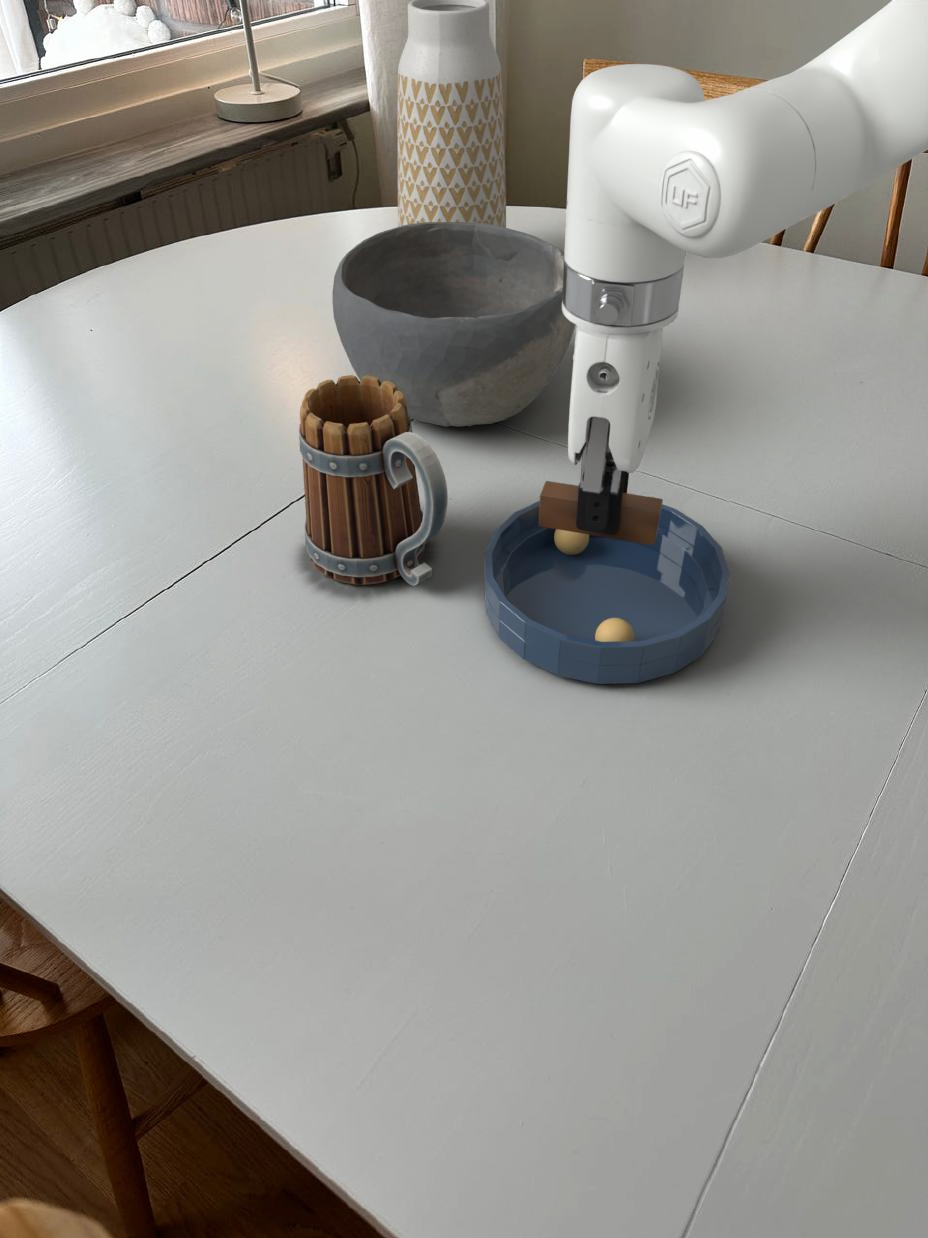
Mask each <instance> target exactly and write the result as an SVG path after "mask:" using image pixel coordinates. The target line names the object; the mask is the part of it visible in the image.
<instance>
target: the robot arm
mask: <svg viewBox="0 0 928 1238" xmlns="http://www.w3.org/2000/svg"><path fill="white" fill-rule="evenodd" d="M704 94H705V93H704V90H703V88H702V86H701V84H700V82H699V81H698V80H697V79H696V78H695V77H694V76H693V75H692V74H690V73H688V72H687V71H684V70H681V69H679V68H675V67H673V66H667V65H661V64H650V63H626V64H617V65H611V66H607V67H603V68H600V69H598V70H595V71H592V72H590V73H589V74H588V75H586V76H585V77H584V78H583V79H582V80H581V81H580V82H579V84H578V86H577V87H576V89H575V91H574V94H573V96H572V101H571V112H570V125H569V126H570V127H569V145H568V146H569V148H568V152H569V153H568V170H567V192H566V207H565V208H566V209H565V210H566V211H565V231H564V232H565V233H564V250H563V252H564V270H563V291H562V312H563V314H564V316H565V317H566V318H567V319H568V320H569V321H570V322H572V323H574V324H575V328H576V329H575V338H574V350H573V355H572V360H573V362H572V372H571V385H570V396H569V397H570V398H569V413H568V432H567V433H568V434H567V456H568V460H569V461H570V463H572V465H574V466H577V465H578V463H580V462H581V464H580V466H581V467H580V479H579V484H578V486H579V489H578V504H577V519H576V527H577V528H578V529H579V530H583V531H590V532H596V533H602V534H609V535H616V534H617V533H618V530H619V525H620V516H621V506H622V497H623V493H628V487H629V480H630V479H629V477H630V474H632V473H634V472H635V471H636V470H637V469H639V467H640V465H641V462H642V458H643V456H644V453H645V450H646V446H647V443H648V440H649V437H650V433H651V429H652V427H653V422H654V419H655V413H656V407H657V398H658V397H657V395H658V384H659V374H660V373H659V372H660V362H661V352H662V345H663V344H662V342H663V330H664V328H666V327H669V325H670V324H672V323H673V322H674V321H675V320H676V319H677V317H678V314H679V309H680V300H681V294H682V293H681V292H682V285H683V278H684V269H685V262H686V255H687V253H689V254H690V255H691V254H692V255H695V256H698V257H701V258H708V259H723V258H728V257H731V256H735V255H738V254H740V253H743V252H745V251H747V250H749V249H751V248H753V247H755V246H757V245H759V244H761V243H762V242H765V241H767V240H769V239H771V238H772V237H774V236H776V235H778V234H780V233H782V232H783V231H784V230H786V229H789V228H790V227H792V226H795V225H796V224H798V223H800V222H801V221H803V220H805V219H807V218H809V217H812V216H814V215H816V214H818V213H820V212H822V211H824V210H826V209H828V208H830V207H832V206H834V205H836V204H838V203H840V202H841V201H842V200H845V199H846V198H849V197H850V196H851V195H853V194H855V193H856V192H858V191H860V190H861V189H863V188H865V187H866V186H868V185H870V184H872V183H873V182H875V181H877V180H878V179H880V178H881V177H883V176H885V175H887V174H888V173H891V172H892V171H894V170H895V169H897V168H898V167H899V168H900V167H901V166H902V165H904V164H906V163H908V162H909V161H911V160H913V159H914V158H916V157H918V156H919V155H921V154H923V153H925V152H927V151H928V0H891V1H890V2H888V3H887V4H886V5H885V6H883V7H882V8H881V9H879V10H878V11H877V12H876V13H874V14H873V15H872V16H870V17H869V18H868V19H867V20H865V21H864V22H862V23H861V24H860V25H858V26H857V27H856V28H855V29H853V30H851V31H850V32H849V33H848V34H847V35H845V36H843V37H842V38H841V39H840V40H838V41H837V42H835V43H834V44H833V45H831V46H830V47H829V48H827V49H826V50H825V51H823V52H821V53H820V54H818V55H817V56H816V57H814V58H813V59H812V60H810V61H809V62H806V64H804V65H802V66H801V67H799V68H797V69H796V70H794V71H792V72H790V73H788V74H785V75H782V76H779V77H776V78H772V79H769V80H767V81H764V82H760V83H758V84H756V85H753V86H750V87H747V88H745V89H742V90H739V91H737V92H735V93H732V94H727V95H723V96H719V97H715V98H710V99H706V100H705V95H704Z"/></svg>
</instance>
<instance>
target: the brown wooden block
mask: <svg viewBox="0 0 928 1238" xmlns="http://www.w3.org/2000/svg"><path fill="white" fill-rule="evenodd" d="M578 489H579V485H575V484H568V483H563V482H557V481H550V480H545V482H544V484H543V487H542V490H541V492H540V495H539V501H540V509H539V526H541V527H547V528H553V529H559V530H565V531H571V532H577V533H583V534H589V535H595V536H601V537H607V538H613V539H619V540H625V541H631V542H637V543H643V544H649V545H655V541H656V537H657V533H658V528H659V522H660V515H661V509H662V504H663V501H664V500H663V498H659V497H653V496H645V495H641V494H633V493H628V492H627V493H623V497H622V506H621V516H620V525H619V530H618V533H617V534H616V535H609V534H602V533H596V532H590V531H583V530H579V529H578V528H577V527H576V519H577V504H578Z"/></svg>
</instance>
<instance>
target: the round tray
mask: <svg viewBox="0 0 928 1238" xmlns="http://www.w3.org/2000/svg"><path fill="white" fill-rule="evenodd" d="M539 509H540V500H538V501H535V502H534V503H533V502H532V504H529V505H527V506H525V507H523V508H521V509H519V510H517V511H515V512H513V513H512V514H511V515H510V516H509V517H508V518H507V519H506V520H505V521H503V523H501V524H500V525H499V526H498V527H497V528H496V529H495V530H494V532H493V534H492V536H491V539H490V541H489V542H488V545H487V546H486V550H485V552H484V577H483V578H484V580H483V581H484V584H483V585H484V586H483V587H484V588H483V591H484V605H485V615H486V616H487V618H488V620H489V622H490V624H491V626H492V627H493V629H494V631H495V633H496V636H497V637H498V639H500V641H502V642H503V643H504V644H505V645H506V646H507V647H509V648H510V649H511V650H512V651H513V652H514V653H515V654H516V655H518V656H519V657H520V658H521V659H523V660H524V661H526V662H528V663H530V664H532V665H534V666H537V667H538V668H540V669H543V670H546V671H547V672H549V673H551V674H554V675H556V676H558V677H563V678H567V679H572V680H577V681H581V682H586V683H592V684H596V685H597V684H599V685H606V684H607V685H608V684H609V685H610V684H611V685H612V684H639V683H642V682H647V681H650V680H654V679H657V678H661V677H666V676H668V675H672V674H675V673H676V672H678V671H679V670H681V669H683V668H684V667H686V666H687V665H689V664H691V663H692V662H693V661H695V660H697V659H698V658H700V657H702V655H703V654H704V652H706V650H707V649H708V647H709V646H710V645H711V644H712V642H713V640H715V638H716V636H717V635H718V633H719V630H720V626H721V621H722V617H723V613H724V608H725V605H726V604H725V603H726V600H727V596H728V595H727V594H728V589H729V582H730V575H731V571H730V567H729V564H728V563H727V559H726V557H725V554H724V550H723V548H722V546H721V545H720V544H719V543H718V541H716V539H715V538H714V537H713V536H712V535H711V534H710V532H708V530H707V529H706V528H705V526H704V525H702V524H700V523H698V522H697V521H696V520H695V519H692V518H691V517H689V516H688V515H686V514H685V513H683V512H681V511H680V510H679V509H677V508H674V507H671V506H668V505H666V504H663V503H662V509H661V515H660V522H659V528H658V533H657V537H656V541H655V545H649V544H643V543H637V542H631V541H625V540H619V539H613V538H607V537H601V536H595V535H589V542H588V545H587V547H586V548H585V549H584V550H583V551H582V552H580V553H578V554H575V555H568V554H565V553H563V552H561V551H560V550H559V549H558V548H557V546H556V544H555V541H554V534H555V531H556V529H553V528H547V527H541V526H539ZM610 618H620V619H623V620H625V621H626V622H628V623H629V624H630V625H631V627H632V629H633V631H634V635H635V640H634V641H614V642H601V641H596V640H595V634H596V630H597V628H598V626H599V625H600V624H601V623H602V622H603V621H605V620H607V619H610Z"/></svg>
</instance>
